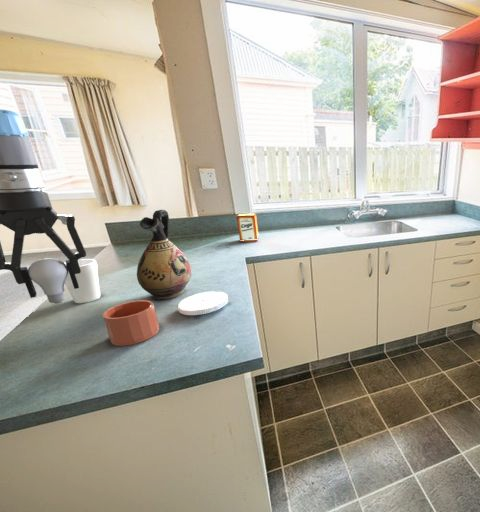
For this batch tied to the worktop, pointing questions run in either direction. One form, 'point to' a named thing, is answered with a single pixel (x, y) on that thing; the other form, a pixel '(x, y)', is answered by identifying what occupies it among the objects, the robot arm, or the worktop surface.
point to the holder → (131, 322)
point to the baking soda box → (247, 227)
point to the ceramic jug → (162, 261)
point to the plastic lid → (202, 303)
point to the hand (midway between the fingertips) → (55, 290)
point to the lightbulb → (49, 277)
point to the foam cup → (85, 282)
